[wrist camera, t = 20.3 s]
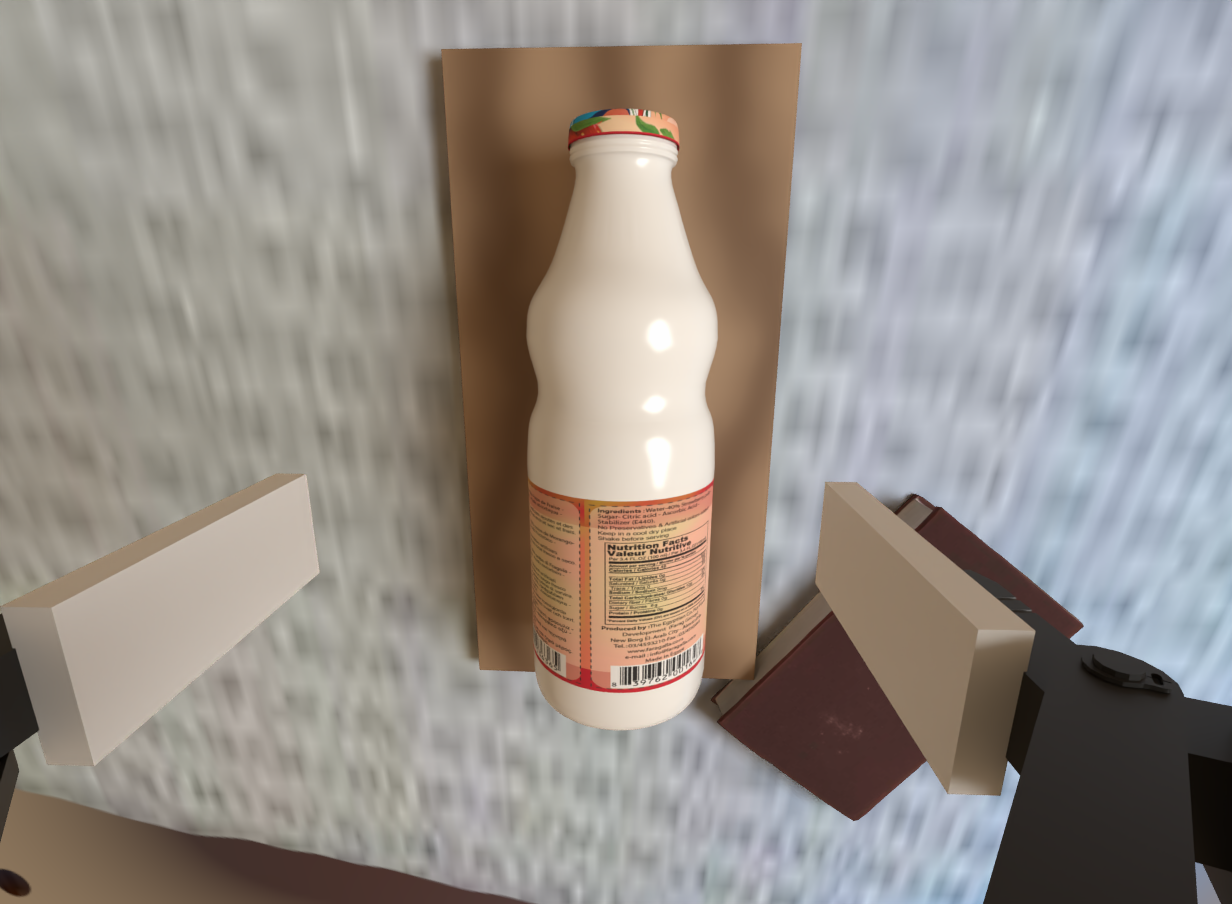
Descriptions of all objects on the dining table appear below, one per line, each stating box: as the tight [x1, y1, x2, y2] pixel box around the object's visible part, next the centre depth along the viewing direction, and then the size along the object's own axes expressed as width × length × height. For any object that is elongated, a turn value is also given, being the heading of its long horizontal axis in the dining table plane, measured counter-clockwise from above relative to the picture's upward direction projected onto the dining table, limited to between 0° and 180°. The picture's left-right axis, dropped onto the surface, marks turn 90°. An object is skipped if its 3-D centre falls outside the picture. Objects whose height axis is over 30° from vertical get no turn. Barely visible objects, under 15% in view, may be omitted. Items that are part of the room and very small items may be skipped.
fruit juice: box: [526, 108, 718, 730], centre depth 29 cm, size 9×9×28 cm
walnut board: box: [441, 43, 802, 680], centre depth 34 cm, size 18×36×1 cm, turn 0°
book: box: [711, 494, 1084, 821], centre depth 37 cm, size 12×19×3 cm, turn 142°
